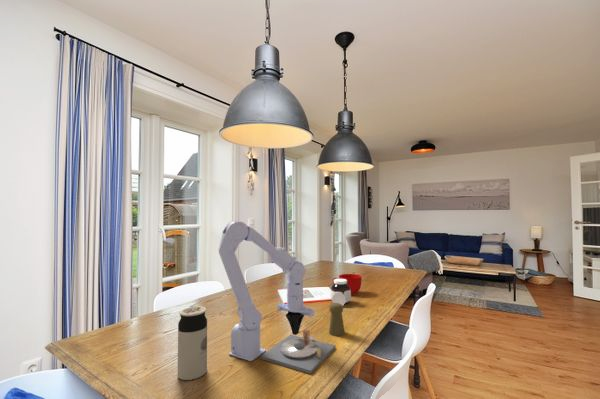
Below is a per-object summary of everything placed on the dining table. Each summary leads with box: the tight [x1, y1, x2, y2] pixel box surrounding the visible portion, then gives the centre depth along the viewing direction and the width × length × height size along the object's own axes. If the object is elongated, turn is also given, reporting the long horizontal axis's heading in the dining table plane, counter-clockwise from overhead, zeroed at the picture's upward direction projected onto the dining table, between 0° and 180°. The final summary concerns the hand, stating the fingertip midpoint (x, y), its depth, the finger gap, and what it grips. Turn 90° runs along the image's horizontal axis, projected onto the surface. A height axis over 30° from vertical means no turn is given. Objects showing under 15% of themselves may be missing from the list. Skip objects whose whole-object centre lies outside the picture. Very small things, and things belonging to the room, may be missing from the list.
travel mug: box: [177, 305, 208, 381], centre depth 82 cm, size 8×8×18 cm
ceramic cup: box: [331, 273, 363, 296], centre depth 163 cm, size 13×17×10 cm
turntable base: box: [260, 334, 336, 375], centre depth 92 cm, size 18×18×4 cm
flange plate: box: [281, 329, 318, 359], centre depth 94 cm, size 12×15×4 cm
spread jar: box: [330, 278, 352, 306], centre depth 144 cm, size 12×11×12 cm
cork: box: [328, 302, 346, 337], centre depth 109 cm, size 6×6×11 cm
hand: (295, 333), depth 99 cm, fingers closed
